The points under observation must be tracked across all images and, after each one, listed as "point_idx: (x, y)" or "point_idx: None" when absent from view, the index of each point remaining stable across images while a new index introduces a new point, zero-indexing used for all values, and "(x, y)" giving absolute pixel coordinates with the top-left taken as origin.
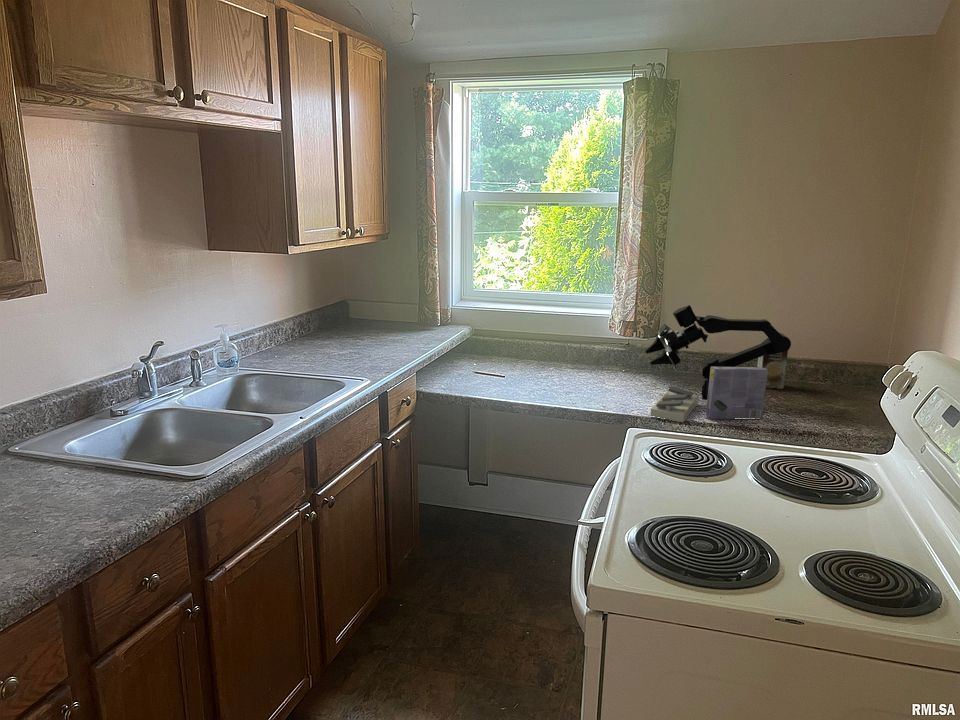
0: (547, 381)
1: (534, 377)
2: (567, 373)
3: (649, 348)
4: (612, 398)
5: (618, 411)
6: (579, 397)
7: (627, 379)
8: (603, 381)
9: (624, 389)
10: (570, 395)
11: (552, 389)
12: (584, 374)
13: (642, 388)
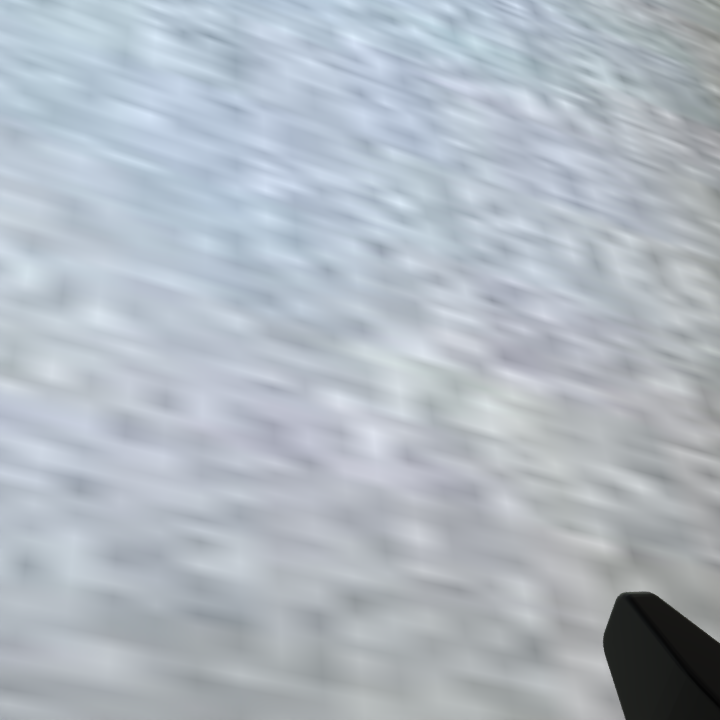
0: (476, 50)
1: (539, 28)
2: (671, 205)
3: (717, 711)
4: (23, 285)
5: None
6: (92, 66)
7: (670, 591)
8: (556, 367)
9: (343, 482)
10: (154, 37)
11: (305, 6)
12: (687, 293)
13: (399, 695)
